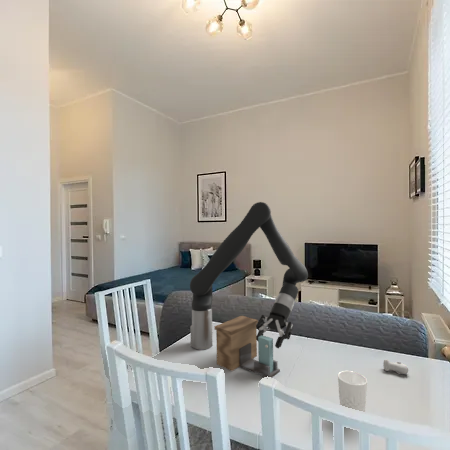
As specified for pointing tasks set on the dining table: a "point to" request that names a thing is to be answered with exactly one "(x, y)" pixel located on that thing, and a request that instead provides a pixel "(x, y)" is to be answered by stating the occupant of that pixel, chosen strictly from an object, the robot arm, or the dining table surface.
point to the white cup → (352, 390)
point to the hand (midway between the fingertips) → (267, 344)
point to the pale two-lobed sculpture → (395, 367)
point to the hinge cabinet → (240, 346)
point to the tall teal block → (265, 351)
